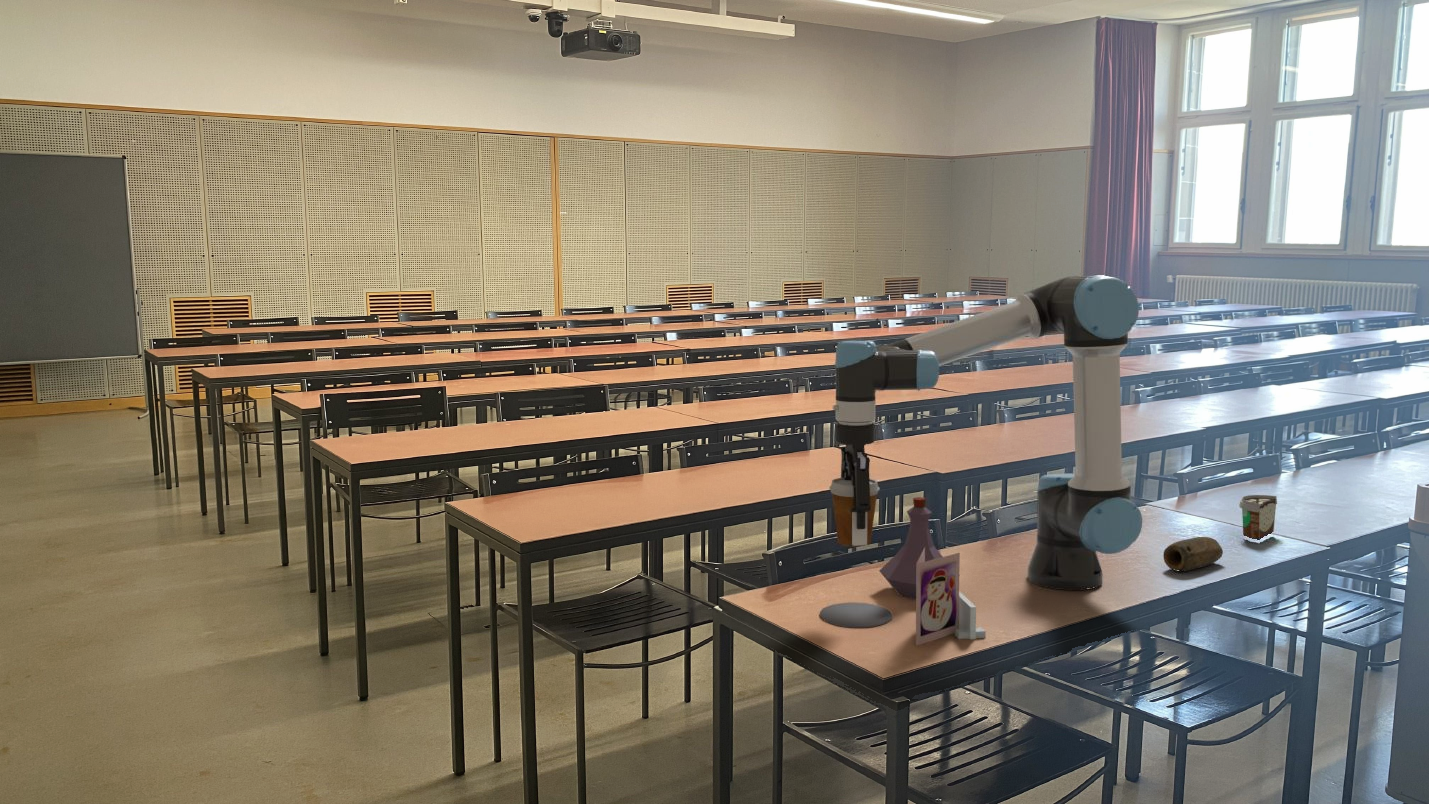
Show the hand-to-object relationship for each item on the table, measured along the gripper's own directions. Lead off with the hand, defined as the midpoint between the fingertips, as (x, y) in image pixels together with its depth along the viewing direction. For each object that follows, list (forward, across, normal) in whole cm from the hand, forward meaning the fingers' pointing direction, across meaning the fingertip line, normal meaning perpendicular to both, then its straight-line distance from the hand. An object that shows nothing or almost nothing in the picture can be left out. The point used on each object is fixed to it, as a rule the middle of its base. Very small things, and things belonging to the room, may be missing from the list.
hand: (854, 538), depth 192 cm
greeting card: (+15, +12, +11) cm, 22 cm away
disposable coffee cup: (+1, 0, 0) cm, 1 cm away
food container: (+15, -42, +108) cm, 117 cm away
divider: (+15, +7, +18) cm, 25 cm away
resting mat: (+15, 0, 0) cm, 15 cm away
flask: (+15, -12, +16) cm, 25 cm away
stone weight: (+15, -21, +81) cm, 85 cm away
